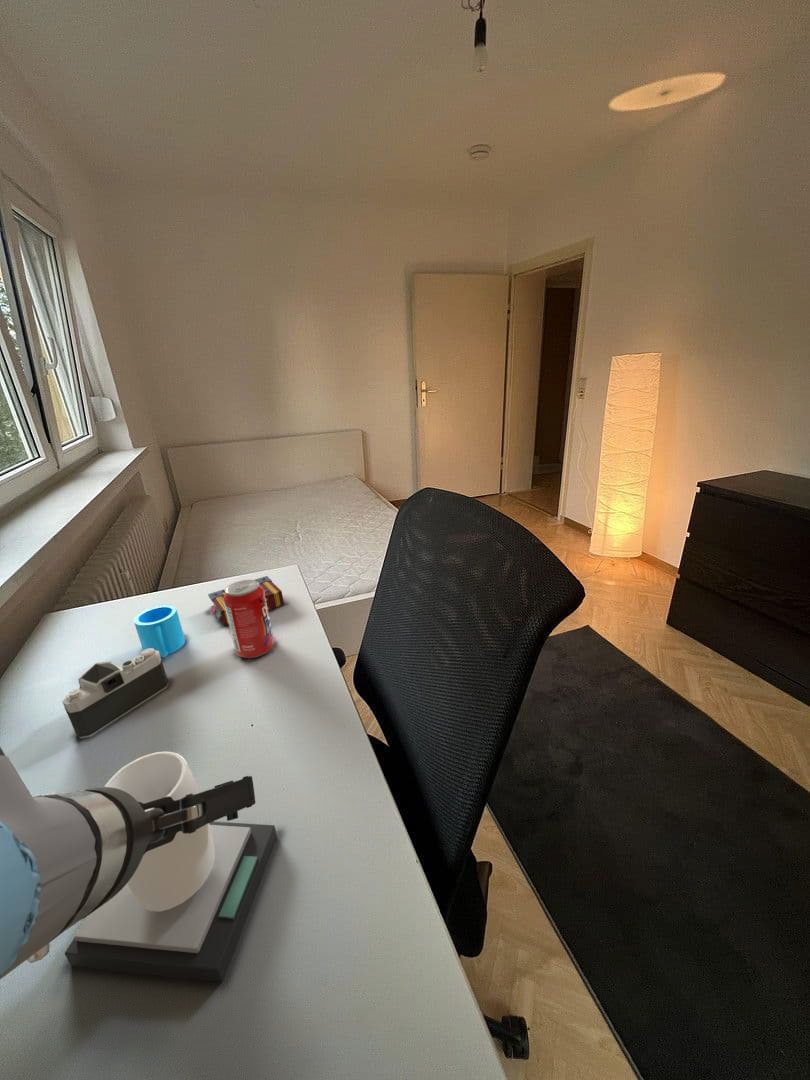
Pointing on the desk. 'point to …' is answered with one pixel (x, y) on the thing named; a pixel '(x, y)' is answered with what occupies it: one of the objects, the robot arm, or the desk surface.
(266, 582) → the decorative book
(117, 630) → the desk surface
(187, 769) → the cup
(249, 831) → the scale
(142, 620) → the mug
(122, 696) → the camera
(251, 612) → the soda can
